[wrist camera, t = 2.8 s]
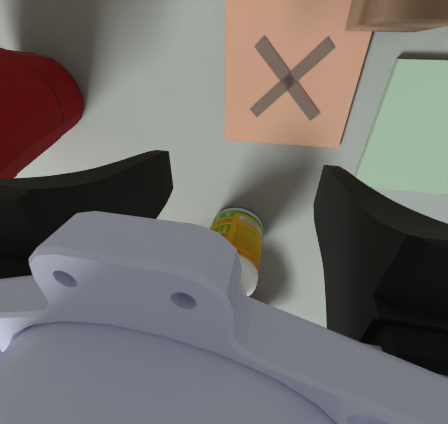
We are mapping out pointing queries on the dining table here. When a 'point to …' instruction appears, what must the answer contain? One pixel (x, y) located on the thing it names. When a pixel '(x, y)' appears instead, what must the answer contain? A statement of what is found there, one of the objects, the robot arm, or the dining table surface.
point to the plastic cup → (33, 108)
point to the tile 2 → (410, 130)
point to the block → (397, 15)
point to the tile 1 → (290, 71)
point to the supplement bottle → (242, 242)
